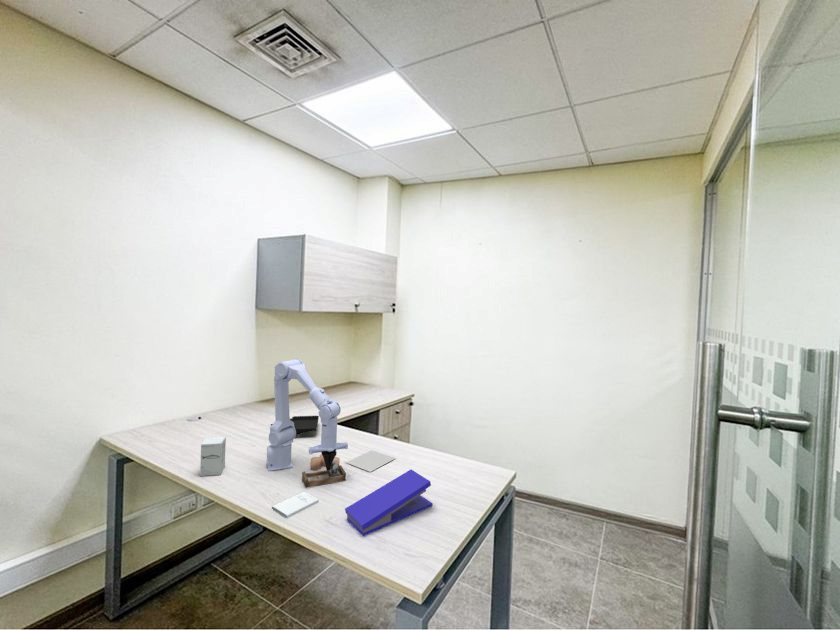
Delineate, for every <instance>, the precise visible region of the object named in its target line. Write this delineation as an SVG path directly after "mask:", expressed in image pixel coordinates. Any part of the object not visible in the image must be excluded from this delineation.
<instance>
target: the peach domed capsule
mask: <svg viewBox="0 0 840 630" xmlns="http://www.w3.org/2000/svg"><path fill="white" fill-rule="evenodd" d="M309 467H310V468H309V469H310V471H312V472H313V471H314V472H318V471H320V470H321V468H322V467H321V458H320V457H319V456H314V457H311V458H310V466H309Z"/></svg>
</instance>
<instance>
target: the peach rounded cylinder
mask: <svg viewBox="0 0 840 630" xmlns="http://www.w3.org/2000/svg"><path fill="white" fill-rule="evenodd" d="M318 457H320V458H321V467H320V468H326V466H325V461H324V458H323V456H322V453H320V454H319V456H318Z"/></svg>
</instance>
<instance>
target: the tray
mask: <svg viewBox="0 0 840 630" xmlns="http://www.w3.org/2000/svg"><path fill="white" fill-rule="evenodd" d="M319 419H320V416H319V415H297V416H295V415H293V416H292V417H291V418H290V420H291V421H292V422H294V427H295V430H296V436H298V435H302V434H305V433H311V432H315V431H317V429H318V426H319V425H318V424H319ZM273 424H274V423H271V424H270V427H271V426H272V425H273Z"/></svg>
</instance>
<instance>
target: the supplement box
mask: <svg viewBox="0 0 840 630" xmlns="http://www.w3.org/2000/svg"><path fill="white" fill-rule="evenodd" d="M226 442H227V437H226V436H218V437H217V436H216V437H215V436H213V437H205V438H204V440H203V441H202V442H201V444H200V470H199V473H200V474H199V476H200V477H204V476H205V477H207V476H220V475H221V474H223V471H224V469H225V466H226V445H227V444H226Z"/></svg>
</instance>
